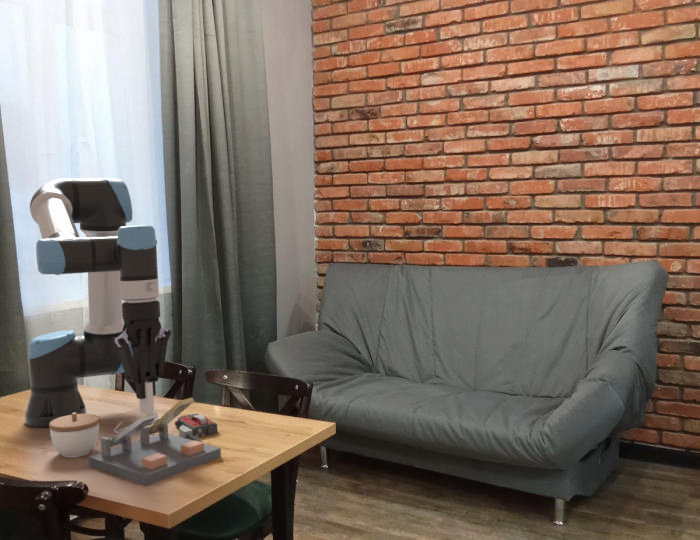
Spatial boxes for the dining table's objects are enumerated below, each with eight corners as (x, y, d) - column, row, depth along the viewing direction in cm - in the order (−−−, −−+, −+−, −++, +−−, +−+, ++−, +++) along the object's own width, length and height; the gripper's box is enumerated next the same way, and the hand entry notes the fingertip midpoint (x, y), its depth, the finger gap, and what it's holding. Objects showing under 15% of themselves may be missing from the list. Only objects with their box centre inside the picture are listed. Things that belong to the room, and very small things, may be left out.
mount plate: (88, 465, 149) (87, 438, 149) (164, 440, 165) (163, 416, 165) (145, 485, 137) (143, 456, 137) (220, 456, 153) (219, 430, 153)
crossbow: (130, 443, 168) (129, 435, 168) (103, 433, 176) (102, 426, 176) (184, 423, 180) (183, 415, 180) (156, 415, 189) (155, 408, 188)
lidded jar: (99, 458, 154) (97, 417, 154) (47, 463, 151) (45, 422, 151) (102, 443, 165) (100, 404, 164) (54, 448, 162) (51, 409, 161)
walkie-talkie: (166, 429, 176) (197, 450, 159) (166, 412, 175) (196, 431, 159) (199, 423, 181) (232, 442, 164) (198, 406, 180) (231, 424, 164)
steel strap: (108, 448, 150) (105, 442, 151) (122, 444, 153) (119, 437, 153) (144, 422, 141) (142, 414, 142) (158, 417, 144) (156, 410, 144)
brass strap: (147, 436, 158) (144, 430, 158) (159, 432, 161) (156, 426, 161) (182, 406, 149) (179, 399, 150) (194, 402, 152) (191, 396, 153)
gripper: (123, 304, 135) (131, 423, 136) (177, 297, 145) (183, 408, 146) (102, 303, 139) (109, 418, 140) (155, 296, 149) (161, 403, 151)
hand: (147, 412), depth 143 cm, fingers closed
